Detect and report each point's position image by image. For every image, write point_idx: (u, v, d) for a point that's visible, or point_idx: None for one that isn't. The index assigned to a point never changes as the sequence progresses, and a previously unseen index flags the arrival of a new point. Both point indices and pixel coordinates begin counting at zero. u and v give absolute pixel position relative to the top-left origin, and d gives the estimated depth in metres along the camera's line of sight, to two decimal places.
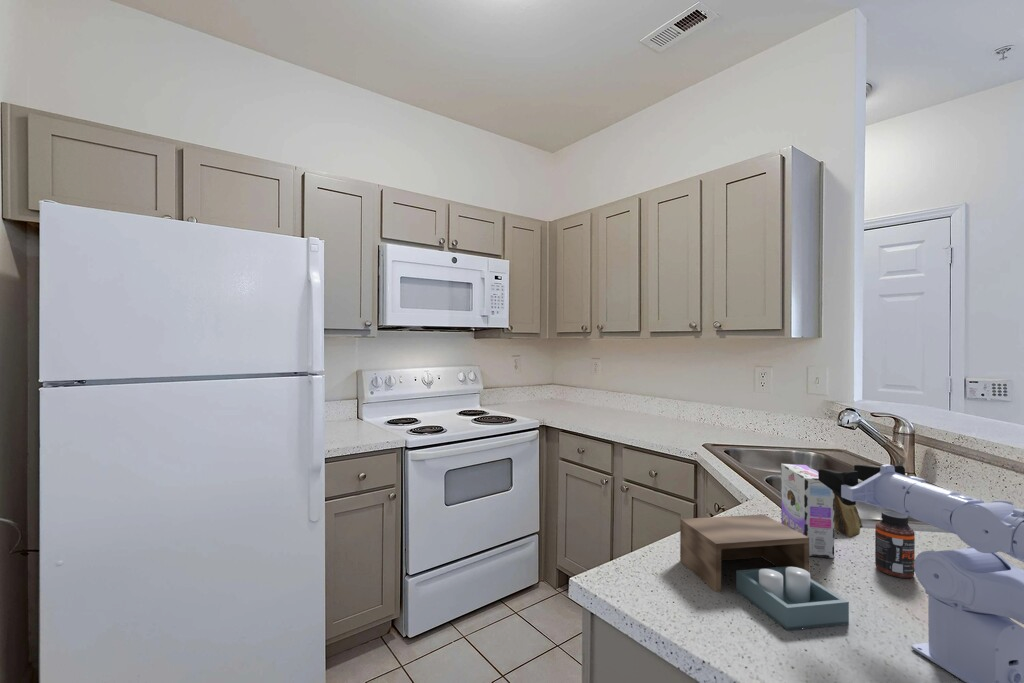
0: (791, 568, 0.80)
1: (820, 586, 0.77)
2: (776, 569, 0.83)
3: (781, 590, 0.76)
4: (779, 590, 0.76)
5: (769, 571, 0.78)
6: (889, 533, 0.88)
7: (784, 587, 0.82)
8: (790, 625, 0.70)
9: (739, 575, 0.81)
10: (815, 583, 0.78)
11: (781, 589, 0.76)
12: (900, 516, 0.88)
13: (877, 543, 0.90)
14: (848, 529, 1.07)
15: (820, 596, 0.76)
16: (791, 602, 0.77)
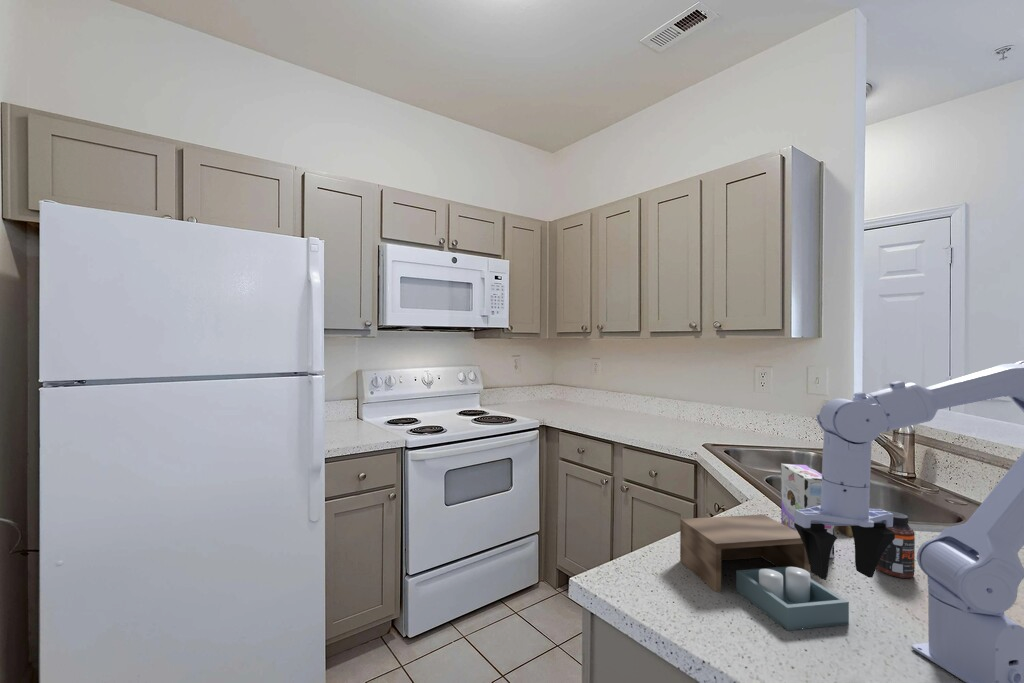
0: (791, 568, 0.80)
1: (820, 586, 0.77)
2: (776, 569, 0.83)
3: (781, 590, 0.76)
4: (779, 590, 0.76)
5: (769, 571, 0.78)
6: None
7: (784, 587, 0.82)
8: (790, 625, 0.70)
9: (739, 575, 0.81)
10: (815, 583, 0.78)
11: (781, 589, 0.76)
12: (900, 516, 0.88)
13: None
14: (848, 529, 1.07)
15: (820, 596, 0.76)
16: (791, 602, 0.77)
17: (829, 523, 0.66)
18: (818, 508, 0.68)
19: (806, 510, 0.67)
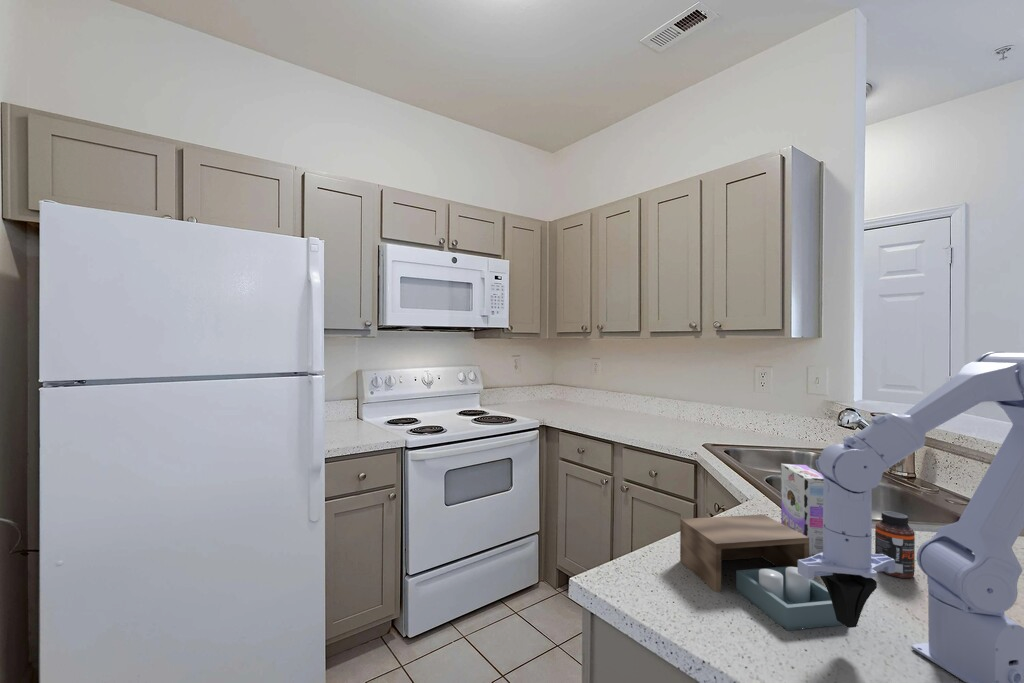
0: (791, 568, 0.80)
1: (820, 586, 0.77)
2: (776, 569, 0.83)
3: (781, 590, 0.76)
4: (779, 590, 0.76)
5: (769, 571, 0.78)
6: (889, 533, 0.88)
7: (784, 587, 0.82)
8: (790, 625, 0.70)
9: (739, 575, 0.81)
10: (815, 583, 0.78)
11: (781, 589, 0.76)
12: (900, 516, 0.88)
13: (877, 543, 0.90)
14: None
15: (820, 596, 0.76)
16: (791, 602, 0.77)
17: (832, 572, 0.65)
18: (820, 556, 0.68)
19: (809, 559, 0.67)
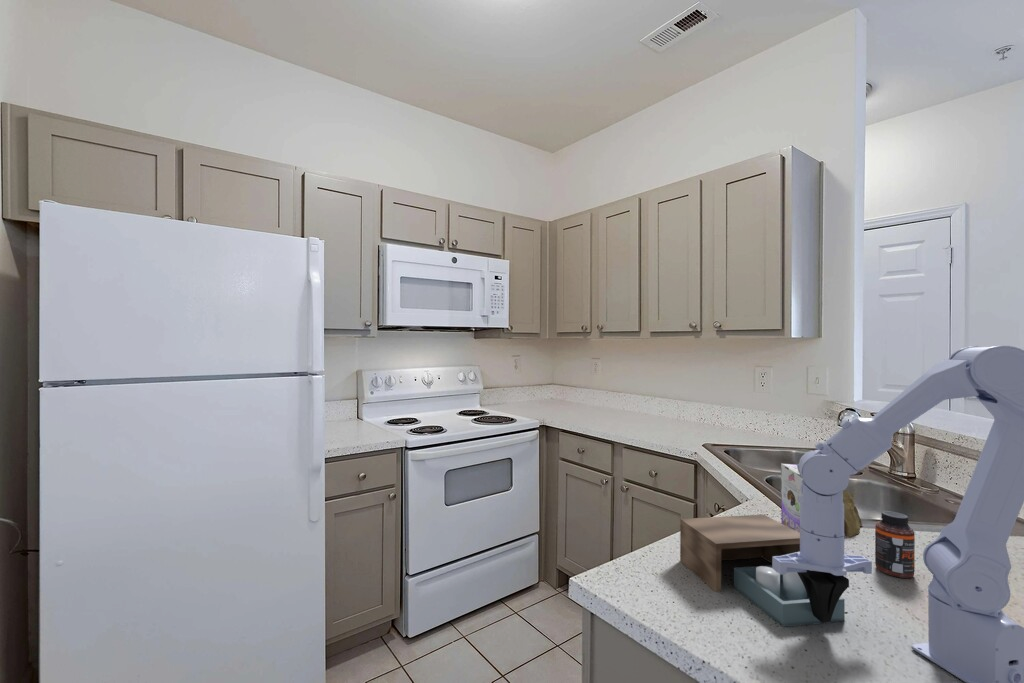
0: None
1: None
2: None
3: (778, 587, 0.77)
4: (775, 587, 0.77)
5: (766, 568, 0.79)
6: (889, 533, 0.88)
7: (782, 585, 0.83)
8: (786, 621, 0.71)
9: (736, 572, 0.82)
10: None
11: (778, 586, 0.77)
12: (900, 516, 0.88)
13: (877, 543, 0.90)
14: (848, 529, 1.07)
15: None
16: (788, 599, 0.78)
17: (806, 570, 0.70)
18: (797, 554, 0.72)
19: (784, 556, 0.71)
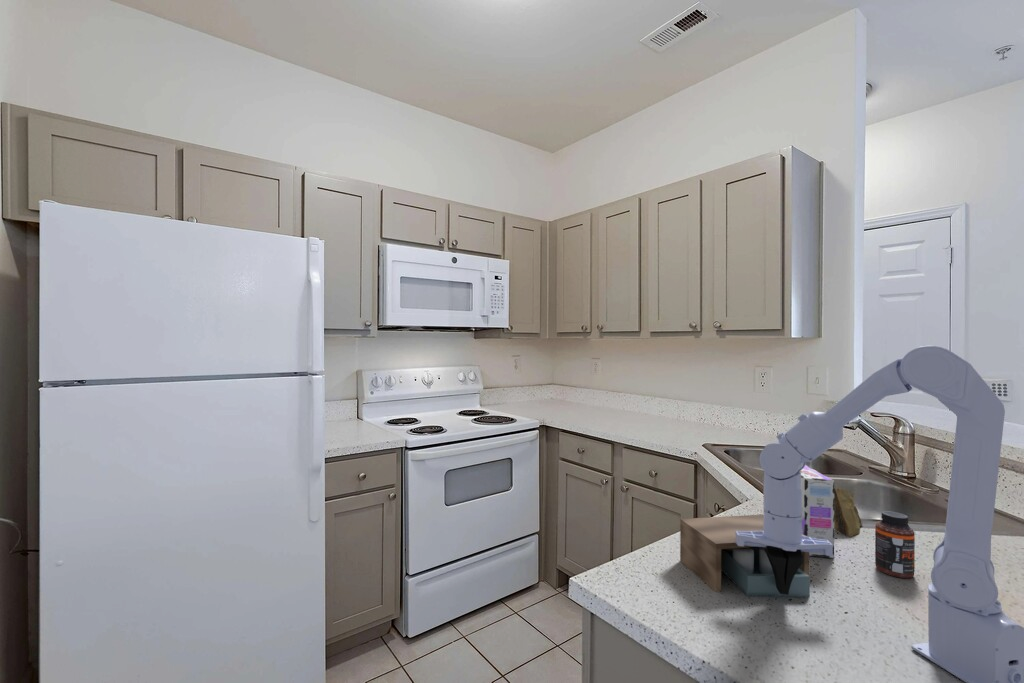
0: None
1: None
2: (755, 548, 0.91)
3: (751, 564, 0.85)
4: (748, 564, 0.85)
5: None
6: (889, 533, 0.88)
7: None
8: (750, 591, 0.80)
9: None
10: None
11: (751, 563, 0.85)
12: (900, 516, 0.88)
13: (877, 543, 0.90)
14: (848, 529, 1.07)
15: None
16: None
17: (765, 545, 0.79)
18: (763, 532, 0.81)
19: (747, 532, 0.81)
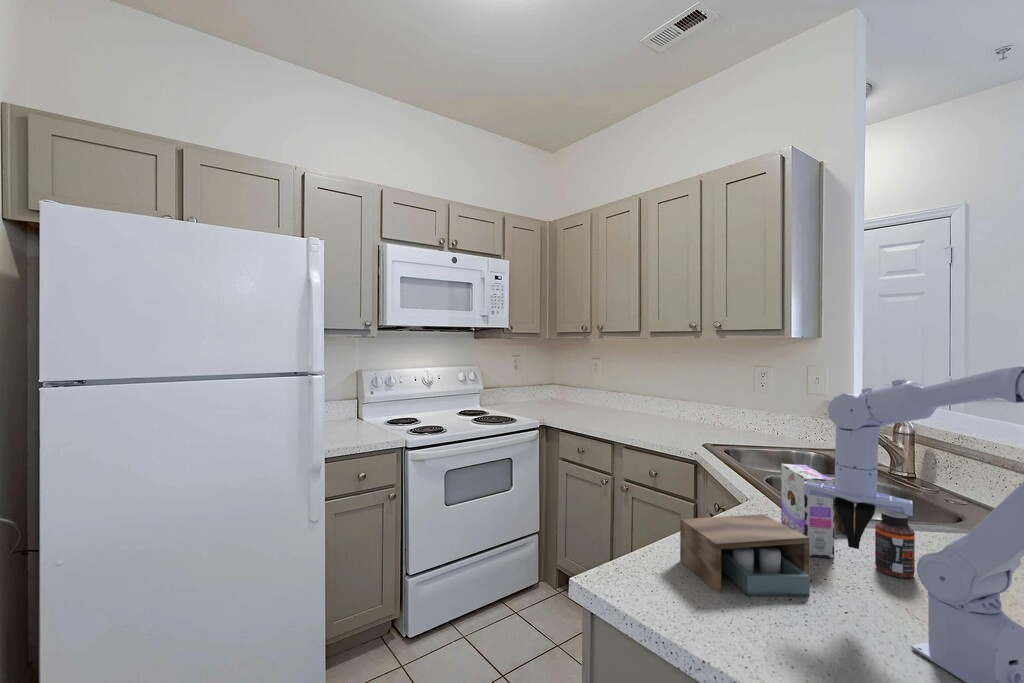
0: (765, 546, 0.88)
1: (789, 563, 0.85)
2: (754, 548, 0.91)
3: (750, 564, 0.85)
4: (748, 563, 0.85)
5: None
6: (889, 533, 0.88)
7: None
8: (750, 591, 0.80)
9: None
10: (786, 560, 0.86)
11: (750, 563, 0.85)
12: (900, 516, 0.88)
13: (877, 543, 0.90)
14: None
15: (788, 572, 0.85)
16: None
17: (835, 497, 0.78)
18: None
19: (819, 484, 0.81)
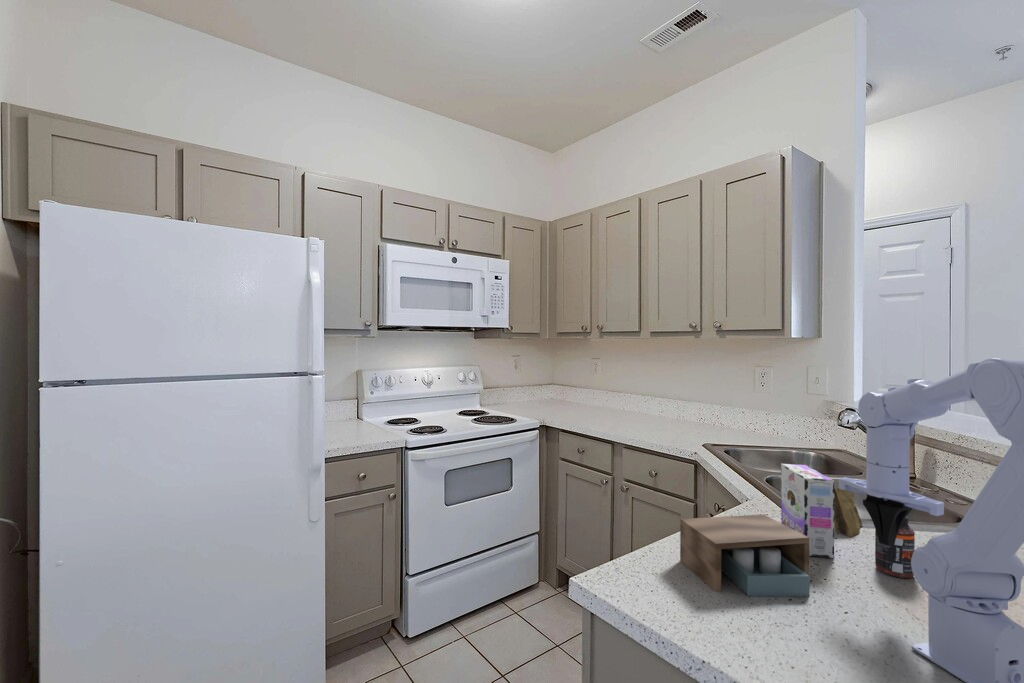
0: (765, 546, 0.88)
1: (789, 563, 0.85)
2: (754, 548, 0.91)
3: (750, 564, 0.85)
4: (748, 563, 0.85)
5: None
6: None
7: None
8: (750, 591, 0.80)
9: None
10: (786, 560, 0.86)
11: (750, 563, 0.85)
12: None
13: (877, 543, 0.90)
14: (848, 529, 1.07)
15: (788, 572, 0.85)
16: None
17: None
18: None
19: (858, 481, 0.83)
